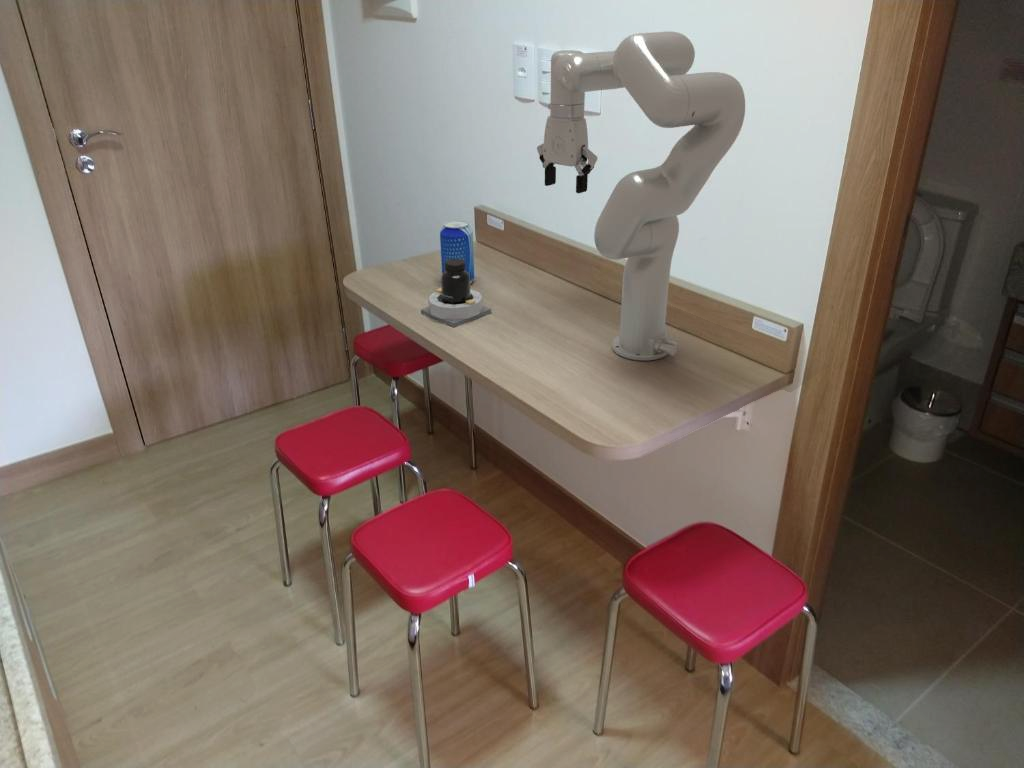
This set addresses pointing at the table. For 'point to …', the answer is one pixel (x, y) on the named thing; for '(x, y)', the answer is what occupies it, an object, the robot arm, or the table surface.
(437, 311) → the socket
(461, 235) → the beer can
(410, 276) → the table surface
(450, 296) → the supplement bottle
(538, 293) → the table surface
